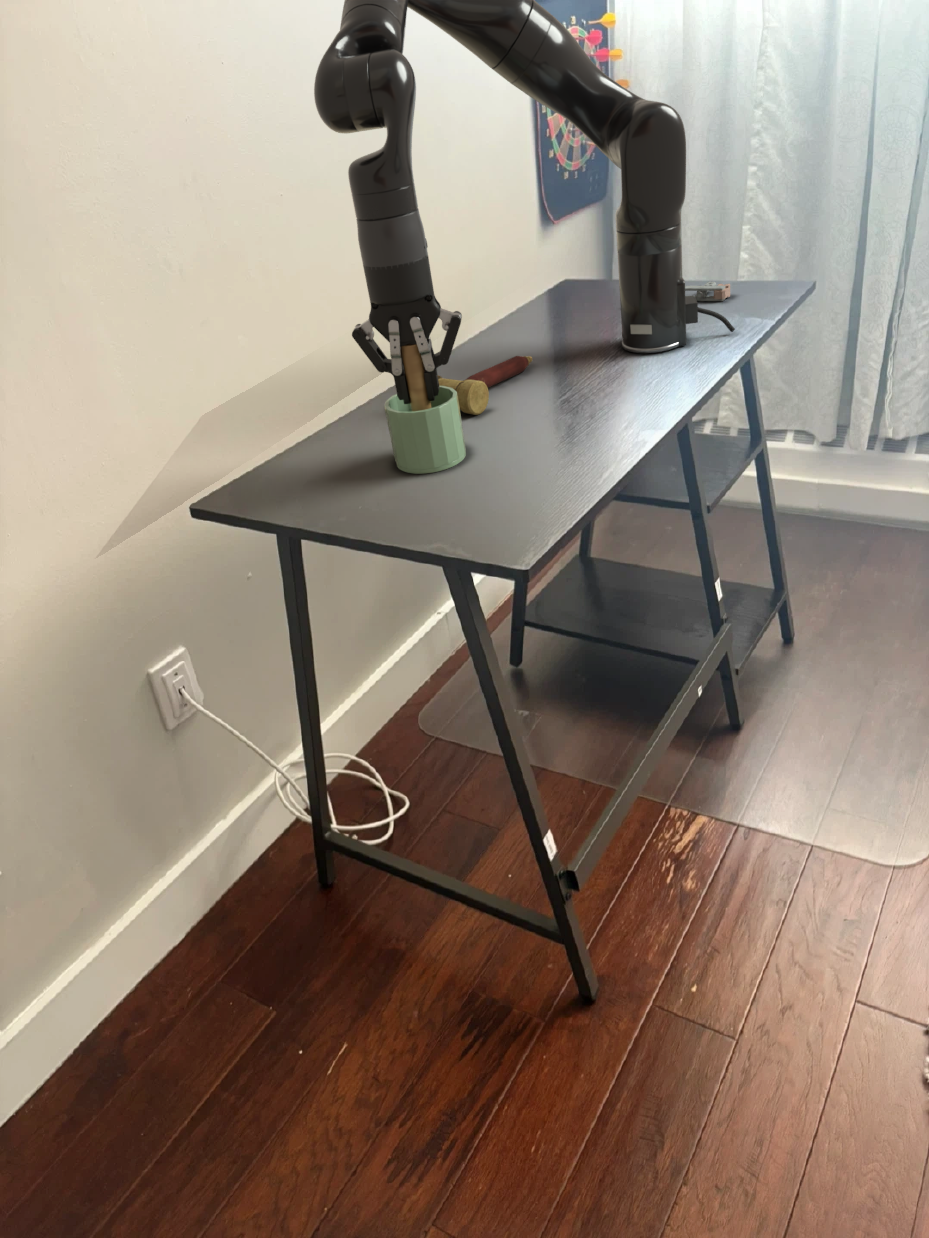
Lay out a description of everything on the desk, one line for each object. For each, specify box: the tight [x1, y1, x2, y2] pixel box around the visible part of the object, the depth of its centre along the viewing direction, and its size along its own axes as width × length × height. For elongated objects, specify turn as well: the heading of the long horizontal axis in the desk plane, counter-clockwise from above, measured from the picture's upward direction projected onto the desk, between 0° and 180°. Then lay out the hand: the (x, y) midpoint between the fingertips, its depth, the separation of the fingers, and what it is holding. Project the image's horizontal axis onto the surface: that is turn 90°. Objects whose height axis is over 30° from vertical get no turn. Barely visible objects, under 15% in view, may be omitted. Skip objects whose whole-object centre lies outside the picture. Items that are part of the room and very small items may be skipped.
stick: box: [401, 344, 432, 411], centre depth 117 cm, size 2×2×10 cm
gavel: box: [437, 355, 534, 416], centre depth 140 cm, size 21×5×10 cm
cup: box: [383, 386, 467, 475], centre depth 120 cm, size 9×9×8 cm
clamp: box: [685, 281, 731, 302], centre depth 164 cm, size 15×2×10 cm
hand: (420, 399), depth 118 cm, fingers closed on stick, 2 cm apart
